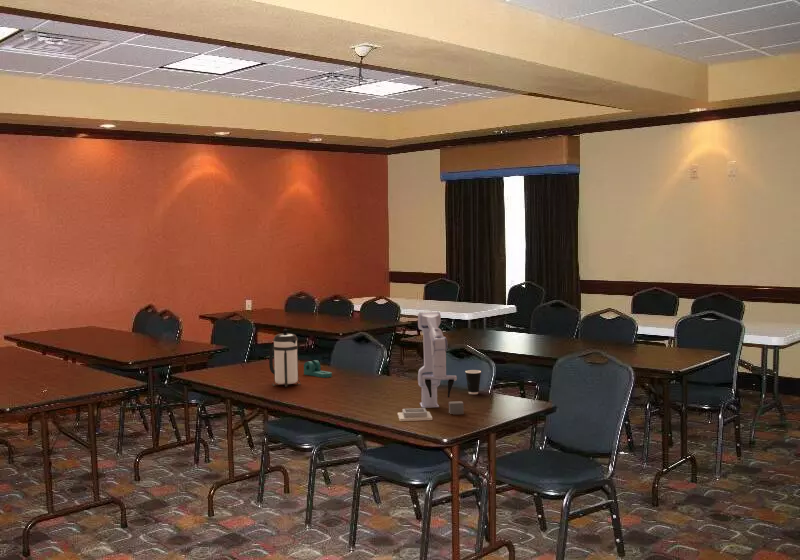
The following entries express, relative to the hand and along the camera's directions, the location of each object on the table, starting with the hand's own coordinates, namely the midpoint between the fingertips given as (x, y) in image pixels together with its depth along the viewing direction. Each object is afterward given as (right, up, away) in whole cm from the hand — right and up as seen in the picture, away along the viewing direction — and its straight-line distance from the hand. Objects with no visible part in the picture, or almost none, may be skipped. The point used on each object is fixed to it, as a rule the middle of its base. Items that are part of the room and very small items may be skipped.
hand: (439, 397), depth 348 cm
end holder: (-11, -10, +5) cm, 15 cm away
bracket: (-63, -4, +109) cm, 126 cm away
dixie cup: (+19, -6, +54) cm, 57 cm away
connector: (+8, -9, +12) cm, 17 cm away
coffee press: (-78, -6, +82) cm, 114 cm away
